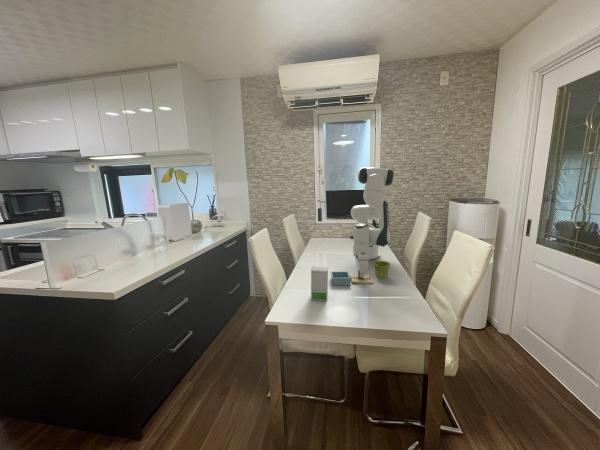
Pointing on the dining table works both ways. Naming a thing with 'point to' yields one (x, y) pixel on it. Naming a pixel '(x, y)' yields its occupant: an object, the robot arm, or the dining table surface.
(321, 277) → the skincare box
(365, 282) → the lid
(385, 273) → the plant pot
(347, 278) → the teal open box
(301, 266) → the dining table surface
